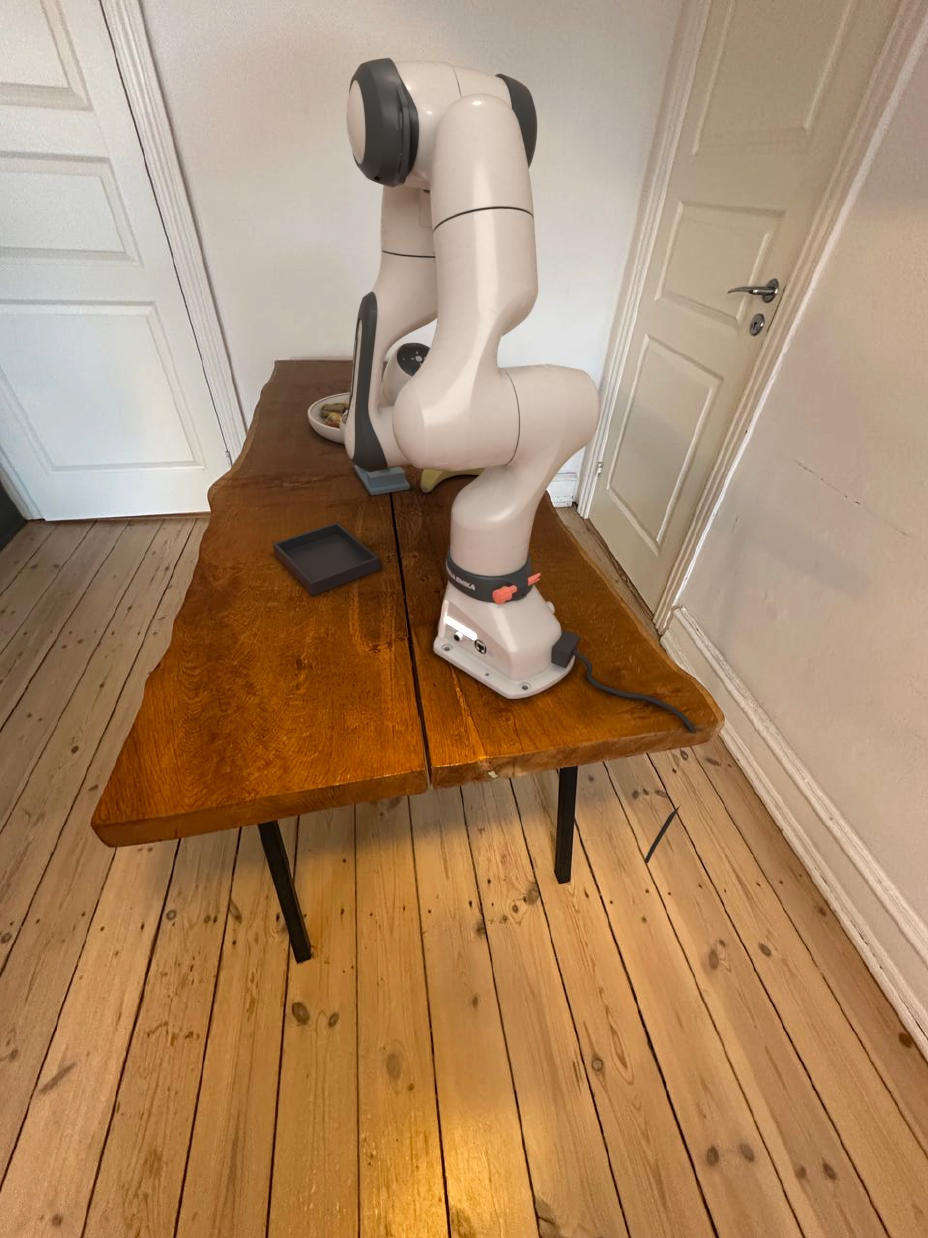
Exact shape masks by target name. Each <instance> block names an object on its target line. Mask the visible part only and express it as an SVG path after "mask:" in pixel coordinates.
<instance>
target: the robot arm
mask: <svg viewBox="0 0 928 1238" xmlns="http://www.w3.org/2000/svg"><path fill="white" fill-rule="evenodd" d="M345 110H346V111H345V114H346V115H345V121H346V122H345V123H346V125H345V126H346V131H347V138H348V143H349V145H350V148H351V152H352V156H353V160H354V163H355V165H356V167H357V168H358V169H359V170H360V172H361V174H363V175H364V177H365V178H366V179H368V180H370V181H371V182H374V183H376V184H379V185H382V192H381V193H382V195H381V203H380V204H381V207H380V264H379V270H378V273H377V276H376V280H375V283H374V285H373V287H372V289H371V291H369V292H368V293H367V294H365V295H364V296H363V297H362V298H361V301H360V303H359V307H358V313H357V319H356V325H355V334H354V344H353V355H352V363H351V364H352V365H351V377H350V388H349V393H350V399H349V406H348V410H347V411H346V412H345V413H344V414H343V416H342V418H341V420H340V423H339V426H340V431H341V434H342V438H343V439H344V443H345V444H344V447H345V451H346V454H347V457H348V459H349V461H351V463H353V464H354V465H357V466H358V467H360V468H362V469H363V470H365V471H367V472H374V471H378V470H383V469H387V468H388V467H395V466H396V467H402V466H410V465H412V466H413V467H414V468H416V469H419V470H424V469H427V470H437V471H462V470H469V469H476V468H484V467H486V468H485V470H484V471H483V472H482V473H481V474H480V475H477V477H476V478H475V479H473V480H472V481H471V482H469V483H468V484H467V485H465V486H464V487H463V488H462V489H460V491H459V492H458V494H456V496H455V498H454V501H453V503H452V505H451V508H450V537H449V539H450V540H449V543H450V545H449V547H448V549H447V552H446V559H445V568H446V570H445V571H446V572H445V574H446V578H447V584H446V588H445V593H444V596H443V600H442V603H441V612H440V617H439V620H438V622H437V636H436V637H435V639H434V641H433V645H432V646H433V647H432V651H433V652H434V653H435V655H438V656H439V657H441V658H442V659H444V660H445V661H447V662H449V663H450V664H452V665H453V666H455V667H456V668H458V669H460V670H462V671H463V672H465V673H466V674H468V676H471V677H472V678H474V679H475V680H477V681H478V682H480V683H482V684H483V685H485V686H487V688H489V689H492V691H494V692H496V693H498V694H499V695H501V696H502V697H503V698H506V699H509V700H516V699H518V700H519V699H523V698H528V697H532V696H535V695H537V694H539V693H542V692H543V691H545V690H547V689H549V688H550V687H553V686H554V685H556V684H557V683H559V682H560V681H561V680H562V679H564V678H565V676H567V675H568V674H569V673H570V671H571V670H572V669H573V666H574V664H575V660H576V658H577V659H579V660H580V661H581V662H583V664H584V665H585V666H586V670H585V678H586V680H587V681H588V682H589V683H590V684H591V685H592V686H593V687H595V688H597V689H599V690H601V691H604V692H607V693H610V694H613V695H614V696H619V697H622V698H627V699H636V700H643V701H646V702H649V703H651V704H654V705H656V706H659V707H661V708H663V709H665V710H667V711H669V712H671V713H672V714H673V715H675V716H676V717H678V718H679V719H680V720H681V721H682V722H683V723H684V725H685V726H686V727H687V729H688V730H689V732H690V733H691V734H697V731H696V728H695V727H694V725H693V724H692V722H691V721H690V719H689V718H688V717H687V716H686V715H685V714H684V713H683V712H681V711H680V710H679V709H677V708H675V707H674V706H672V705H670V704H668V703H666V702H664V701H662V700H659V699H657V698H655V697H652V696H649V695H646V694H643V693H636V692H635V693H634V692H628V691H627V692H626V691H622V690H619V689H615V688H613V687H610V686H606V685H603V684H601V683H600V682H597V681H596V680H595V679H594V678H593V677H592V676H591V675H592V672H593V665H592V662H590V659H588V658H587V657H586V656H584V655H583V654H582V653H580V652H579V651H578V646H579V643H580V638H581V636H580V635H579V634H577V633H573V632H571V631H568V630H564V629H563V630H562V626H561V623H560V622H559V620H558V619H557V617H556V616H555V612H556V610H555V606H554V604H553V603H552V602H551V601H550V600H548V601H546V600H545V598H544V597H543V595H542V594H541V592H540V591H539V590H538V589H539V588H537V586H536V585H535V583H537V582H538V581H540V580H541V578H540V576H541V575H542V574H541V572H538V573H535V574H534V570H533V566H532V560H531V555H530V553H529V550H530V543H531V536H532V531H533V526H534V521H535V517H536V513H537V510H538V507H539V504H540V502H541V501H542V498H543V497H544V495H545V493H546V491H547V489H548V487H549V486H550V485H551V483H552V481H553V479H554V478H555V477H556V475H558V473H559V472H560V471H561V469H562V468H563V467H564V466H565V464H566V463H567V462H568V461H569V460H570V459H571V458H572V457H573V456H575V454H577V453H578V452H580V451H581V450H582V449H584V448H585V447H586V446H587V445H588V444H589V443H590V442H591V441H592V439H593V438H594V436H595V434H596V432H597V430H598V427H599V423H600V419H601V413H602V412H601V411H602V408H601V407H602V405H601V397H600V393H599V390H598V388H597V386H596V383H595V382H594V380H593V378H592V377H591V375H590V374H589V373H587V372H586V371H585V370H583V369H580V368H576V367H570V366H565V365H560V364H559V365H558V364H551V363H541V364H539V363H538V364H530V365H529V364H528V365H527V364H526V365H515V366H501V367H500V366H499V365H498V351H499V346H500V342H501V339H502V338H503V337H504V336H506V335H507V334H508V333H510V332H511V331H513V330H514V329H516V328H517V327H518V326H520V325H521V324H523V322H524V321H525V320H526V319H527V318H528V317H529V316H530V315H531V312H532V311H533V310H534V308H535V305H536V302H537V299H538V295H539V275H538V260H537V259H538V258H537V246H536V245H537V244H536V229H535V228H536V226H535V211H534V198H533V189H532V183H531V182H532V181H531V175H530V167H531V165H532V163H533V159H534V156H535V151H536V147H537V140H538V116H537V109H536V105H535V101H534V99H533V96H532V93H531V91H530V90H529V88H528V86H526V85H525V84H524V83H522V82H521V81H519V80H517V79H515V78H513V77H511V76H508V75H506V74H503V73H497V74H495V75H493V74H491V73H487V72H485V71H484V72H483V71H480V70H477V69H473V68H468V67H464V66H458V65H453V64H452V65H451V64H450V63H449V62H446V61H434V60H402V61H401V60H400V61H394V60H393V59H392V58H390V57H384V58H376V59H371V60H367V61H365V62H362V63H360V64H359V66H358V67H357V69H356V70H355V72H354V74H353V76H352V77H351V79H350V83H349V89H348V96H347V102H346V109H345ZM435 320H436V326H435V330H434V335H433V339H432V342H431V345H430V346H428V345H426V344H423V343H421V342H406V343H403V344H402V345H400V346H398V347H397V348H396V349H395V350H394V351H393V353H392V354H391V356H390V358H389V360H388V361H387V364H386V366H385V368H384V362H385V358H386V356H387V354H388V352H389V350H390V349H391V348H392V347H393V346H394V345H395V344H396V343H397V342H399V341H400V340H401V339H402V338H404V337H406V336H407V335H409V334H411V333H413V332H415V331H417V330H419V329H421V328H423V327H425V326H427V325H429V324H431V323H432V322H434V321H435ZM383 370H384V371H383ZM680 807H681V805H679V806H678V807H676V808H675V809H674V810H673V811H672V812H671V813H670V814H669V815H668V816H667V818H666V820H665V822H664V824H663V825H662V827H661V829H660V830H659V832H658V833H657V835H656V837H655V839H654V841H653V842H652V844H651V846H650V848H649V850H648V852H647V854H646V856H645V858H644V863H645V864H649V863H650V860H651V859H652V856H653V854H654V853H655V851H656V848H657V847H658V845H659V843H660V841H661V840H662V838H663V836H665V834H666V832H667V830H668V828H669V827H670V824H671V823H672V821H673V820H674V818H675V817H676V815H677V813H678V811H679V809H680Z"/></svg>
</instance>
